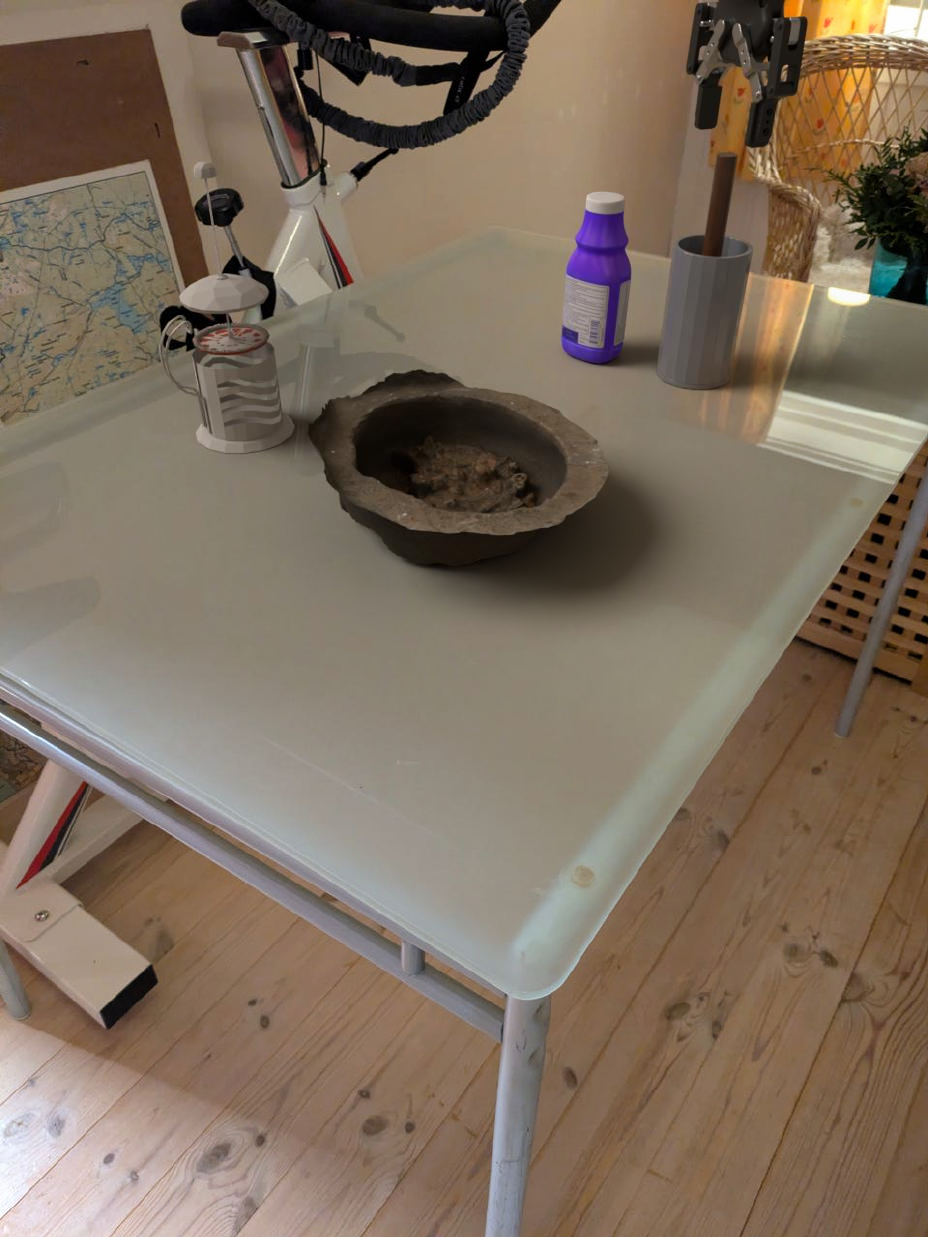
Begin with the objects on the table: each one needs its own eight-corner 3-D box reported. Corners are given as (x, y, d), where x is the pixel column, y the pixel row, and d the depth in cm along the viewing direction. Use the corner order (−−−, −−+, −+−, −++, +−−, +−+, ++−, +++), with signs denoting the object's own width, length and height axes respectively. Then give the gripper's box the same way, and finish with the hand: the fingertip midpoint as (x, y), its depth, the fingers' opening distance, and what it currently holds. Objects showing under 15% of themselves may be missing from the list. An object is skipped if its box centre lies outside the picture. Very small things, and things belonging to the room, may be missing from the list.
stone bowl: (275, 479, 87) (270, 383, 82) (517, 445, 96) (526, 356, 91) (367, 632, 69) (367, 521, 64) (652, 571, 79) (674, 470, 73)
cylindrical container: (703, 355, 110) (724, 230, 101) (743, 382, 104) (769, 252, 96) (643, 365, 108) (659, 238, 99) (680, 394, 102) (701, 261, 93)
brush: (699, 358, 108) (733, 147, 94) (721, 373, 105) (760, 157, 91) (665, 364, 107) (695, 151, 93) (687, 380, 103) (721, 161, 90)
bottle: (631, 355, 110) (649, 196, 99) (602, 370, 107) (617, 207, 96) (581, 339, 114) (593, 184, 103) (551, 353, 111) (560, 194, 100)
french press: (310, 437, 94) (280, 166, 79) (196, 467, 90) (140, 185, 74) (272, 400, 101) (238, 142, 85) (165, 426, 96) (107, 158, 81)
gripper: (853, -69, 77) (808, 149, 87) (749, -77, 87) (720, 119, 97) (775, -67, 75) (739, 157, 85) (679, -75, 85) (657, 125, 95)
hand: (729, 137), depth 91 cm, fingers open, 8 cm apart
